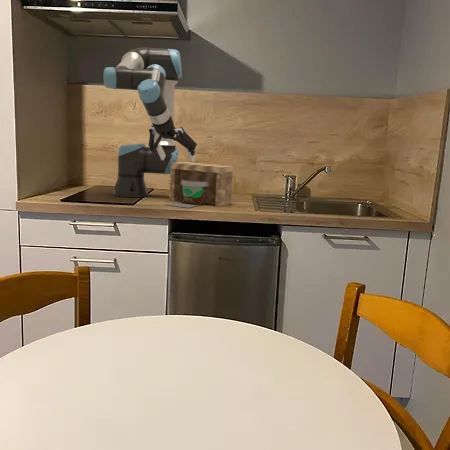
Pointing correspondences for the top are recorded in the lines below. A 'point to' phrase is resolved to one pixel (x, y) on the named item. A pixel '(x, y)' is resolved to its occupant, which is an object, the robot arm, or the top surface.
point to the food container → (194, 192)
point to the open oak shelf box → (200, 172)
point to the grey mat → (181, 205)
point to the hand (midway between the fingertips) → (178, 159)
